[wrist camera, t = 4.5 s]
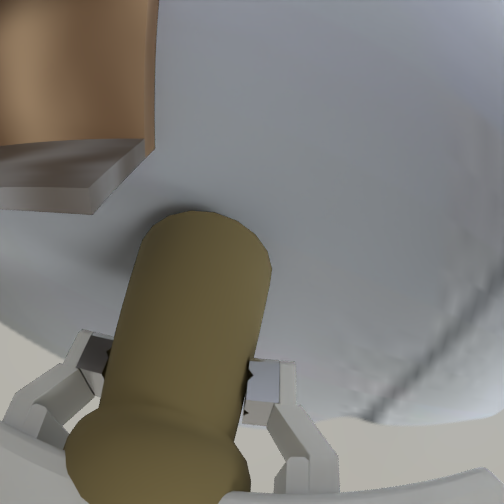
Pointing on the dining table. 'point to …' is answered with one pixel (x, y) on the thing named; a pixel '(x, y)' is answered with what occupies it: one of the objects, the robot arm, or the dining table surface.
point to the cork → (177, 369)
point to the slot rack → (74, 100)
